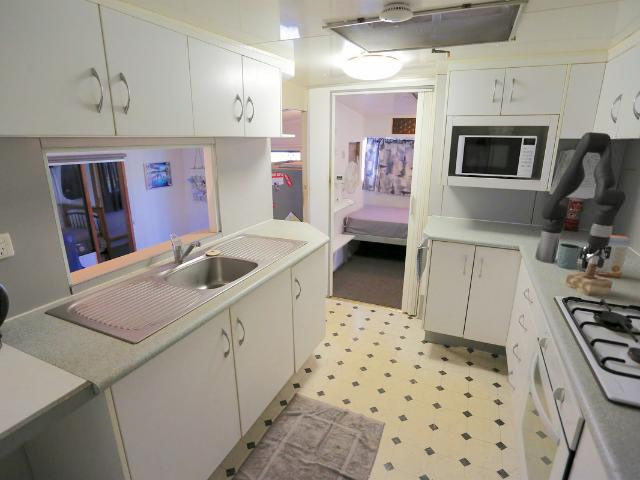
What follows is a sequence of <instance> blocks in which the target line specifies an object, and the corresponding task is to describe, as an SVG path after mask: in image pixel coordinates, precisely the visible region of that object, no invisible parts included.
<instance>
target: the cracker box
mask: <svg viewBox="0 0 640 480" xmlns="http://www.w3.org/2000/svg"><path fill="white" fill-rule="evenodd" d="M630 241H631V238H629V237H627V236H626V235H617V234H616V235H614V234H611V237H610V241H609V245H608V246H611V247H612V249H611V253H610V258H609V259H606V260H605V261H604V264H603V267H602V268H599V267H596V272H595V275H597V276H600V277H602V276H603V277H610V278H620V279H621V275H622V273H623V268H624V265H625V261H626V257H627V252H628V250H629V245H630ZM588 255H590V254H588ZM606 256H607V253H606ZM598 259H599V257H598V256H594V257H593V258H591V259H590V260H589V261H588V263H595V264H597V263H598ZM587 267H588V266H587ZM584 270H585V271H584V272H587V269H584Z"/></svg>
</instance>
